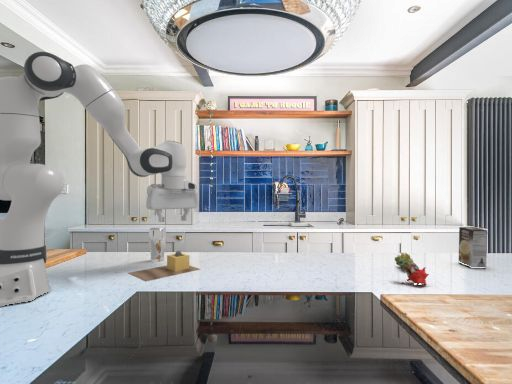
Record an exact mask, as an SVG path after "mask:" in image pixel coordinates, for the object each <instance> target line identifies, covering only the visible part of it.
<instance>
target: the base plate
mask: <svg viewBox="0 0 512 384" xmlns="http://www.w3.org/2000/svg"><path fill="white" fill-rule="evenodd" d="M182 253H183V252H181V251H180V250H177V251H175V253H174V254H175V257H179V256H182ZM200 270H201V268H200V267H199V268H198V267H196V266H192V265H190V264H189V269H184V270H180V271H173V270H170V269H168V268H167V264H166V265H162V266H157V267H151V268H146V269H142V270H137V271H132V272H131V271H130V272H127V274H129V275H131V276H133V277H135V278H137V279H138V280H139V279H140V280H142V281H144V282H151V281H154V280H159V279H163V278H169V277H173V276H177V275H182V274H185V273H186V274H187V273H192V272H195V271H200Z"/></svg>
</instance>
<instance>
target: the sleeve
mask: <svg viewBox="0 0 512 384" xmlns="http://www.w3.org/2000/svg"><path fill="white" fill-rule="evenodd" d="M181 253H182V256H179V257H175V253H171V254H167V255H166V265H167V268H168V269H170V270H173V271H180V270H184V269H189V265H190V255H189V254H186V253H183V252H181Z"/></svg>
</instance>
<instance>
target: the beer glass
mask: <svg viewBox="0 0 512 384" xmlns="http://www.w3.org/2000/svg"><path fill="white" fill-rule="evenodd" d="M166 228H167V227H160V226H159V227H150V228H149V229H148V246H149V250H150V251H149V252H150V262H151V263H162V262H164V261H165V250H166V246H167V245H166V244H167V243H166V242H167V230H166Z"/></svg>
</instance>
